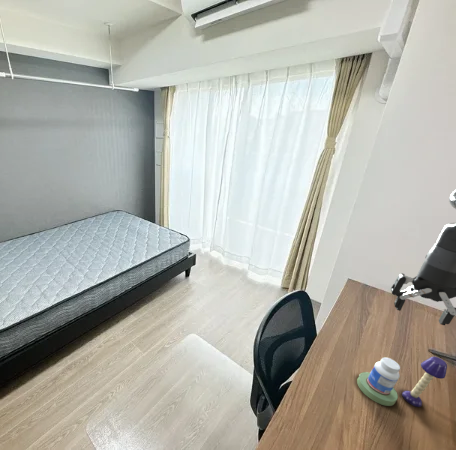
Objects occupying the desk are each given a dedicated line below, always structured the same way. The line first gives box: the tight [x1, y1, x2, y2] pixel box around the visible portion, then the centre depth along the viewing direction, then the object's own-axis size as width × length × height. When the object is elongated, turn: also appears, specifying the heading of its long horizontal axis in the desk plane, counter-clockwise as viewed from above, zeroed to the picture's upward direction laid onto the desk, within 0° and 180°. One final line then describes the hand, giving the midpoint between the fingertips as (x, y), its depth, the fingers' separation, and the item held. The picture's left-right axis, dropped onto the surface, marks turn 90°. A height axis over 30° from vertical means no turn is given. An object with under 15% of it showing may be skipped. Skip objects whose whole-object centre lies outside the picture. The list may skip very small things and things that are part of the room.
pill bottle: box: [367, 356, 401, 394], centre depth 72 cm, size 6×5×10 cm
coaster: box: [356, 371, 399, 407], centre depth 74 cm, size 9×9×2 cm
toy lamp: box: [401, 356, 448, 408], centre depth 69 cm, size 5×5×17 cm
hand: (418, 315), depth 67 cm, fingers open, 8 cm apart
